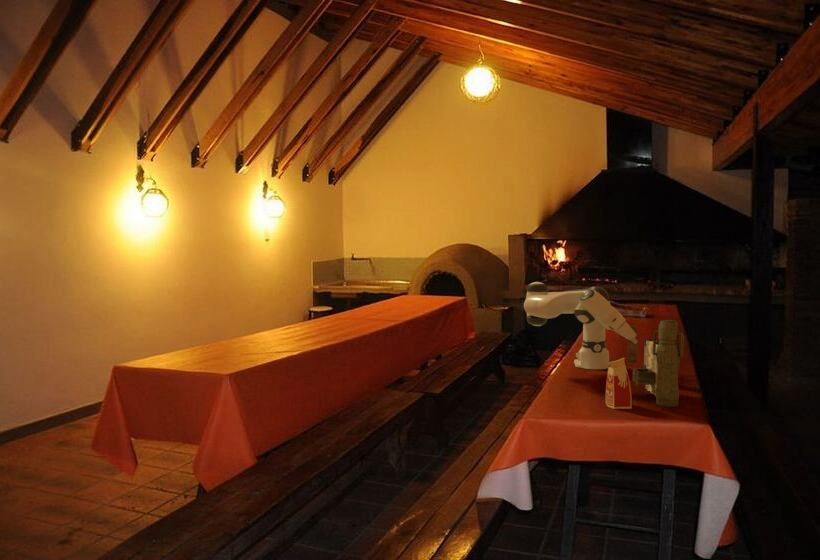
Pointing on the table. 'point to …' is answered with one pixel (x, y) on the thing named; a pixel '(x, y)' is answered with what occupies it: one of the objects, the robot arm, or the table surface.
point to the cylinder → (632, 347)
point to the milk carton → (618, 386)
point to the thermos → (668, 362)
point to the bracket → (648, 370)
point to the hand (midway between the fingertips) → (634, 341)
